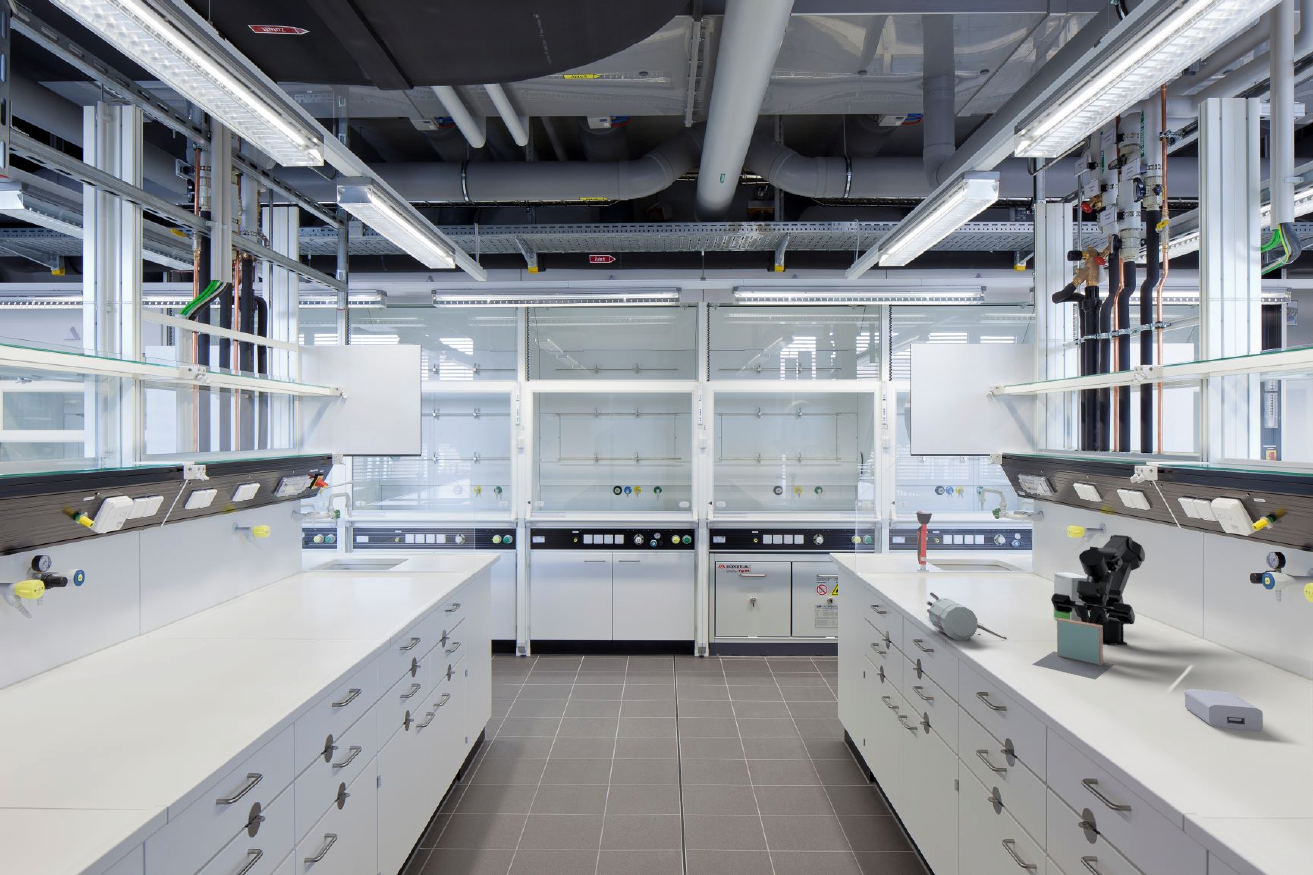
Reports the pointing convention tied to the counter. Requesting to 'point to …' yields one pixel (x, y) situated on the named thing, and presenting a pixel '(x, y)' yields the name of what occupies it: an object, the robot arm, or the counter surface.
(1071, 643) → the tile
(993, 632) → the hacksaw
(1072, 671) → the mat
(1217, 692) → the charger
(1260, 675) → the counter surface
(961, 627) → the device
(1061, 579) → the skincare box
